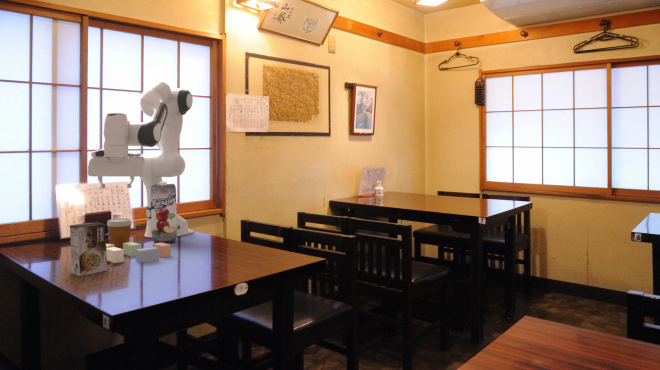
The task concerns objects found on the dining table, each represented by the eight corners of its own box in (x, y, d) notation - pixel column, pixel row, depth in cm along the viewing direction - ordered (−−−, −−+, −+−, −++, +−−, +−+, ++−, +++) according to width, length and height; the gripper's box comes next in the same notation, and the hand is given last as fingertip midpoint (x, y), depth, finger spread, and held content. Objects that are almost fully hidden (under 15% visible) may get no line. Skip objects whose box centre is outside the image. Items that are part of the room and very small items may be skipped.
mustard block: (101, 254, 183) (100, 243, 183) (114, 256, 181) (114, 244, 180) (93, 256, 180) (93, 244, 180) (107, 257, 177) (106, 246, 177)
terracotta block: (161, 253, 185) (161, 242, 184) (170, 256, 180) (170, 244, 180) (153, 255, 182) (152, 243, 182) (162, 257, 178) (162, 246, 177)
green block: (131, 253, 186) (131, 241, 186) (140, 255, 181) (140, 244, 181) (123, 254, 183) (122, 243, 183) (131, 257, 179) (131, 245, 178)
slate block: (136, 261, 172) (136, 249, 171) (155, 258, 176) (155, 246, 176) (139, 263, 169) (139, 250, 169) (158, 260, 173) (158, 248, 173)
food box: (98, 267, 162) (97, 221, 160) (107, 271, 157) (106, 223, 156) (70, 273, 154) (69, 224, 153) (79, 276, 150) (77, 226, 149)
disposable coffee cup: (137, 246, 197) (136, 218, 196) (125, 251, 188) (124, 222, 187) (115, 246, 198) (114, 218, 197) (102, 251, 189) (101, 221, 188)
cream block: (115, 258, 176) (114, 246, 176) (123, 261, 171) (123, 249, 171) (105, 260, 173) (105, 248, 173) (114, 263, 169) (113, 251, 168)
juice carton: (152, 240, 211) (151, 180, 209) (177, 239, 214) (176, 180, 212) (151, 244, 202) (149, 182, 200) (177, 243, 205) (175, 181, 204)
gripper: (143, 153, 192) (143, 187, 193) (87, 152, 183) (87, 188, 184) (145, 153, 187) (145, 188, 187) (87, 152, 177) (87, 188, 178)
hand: (116, 188), depth 185 cm, fingers open, 8 cm apart
